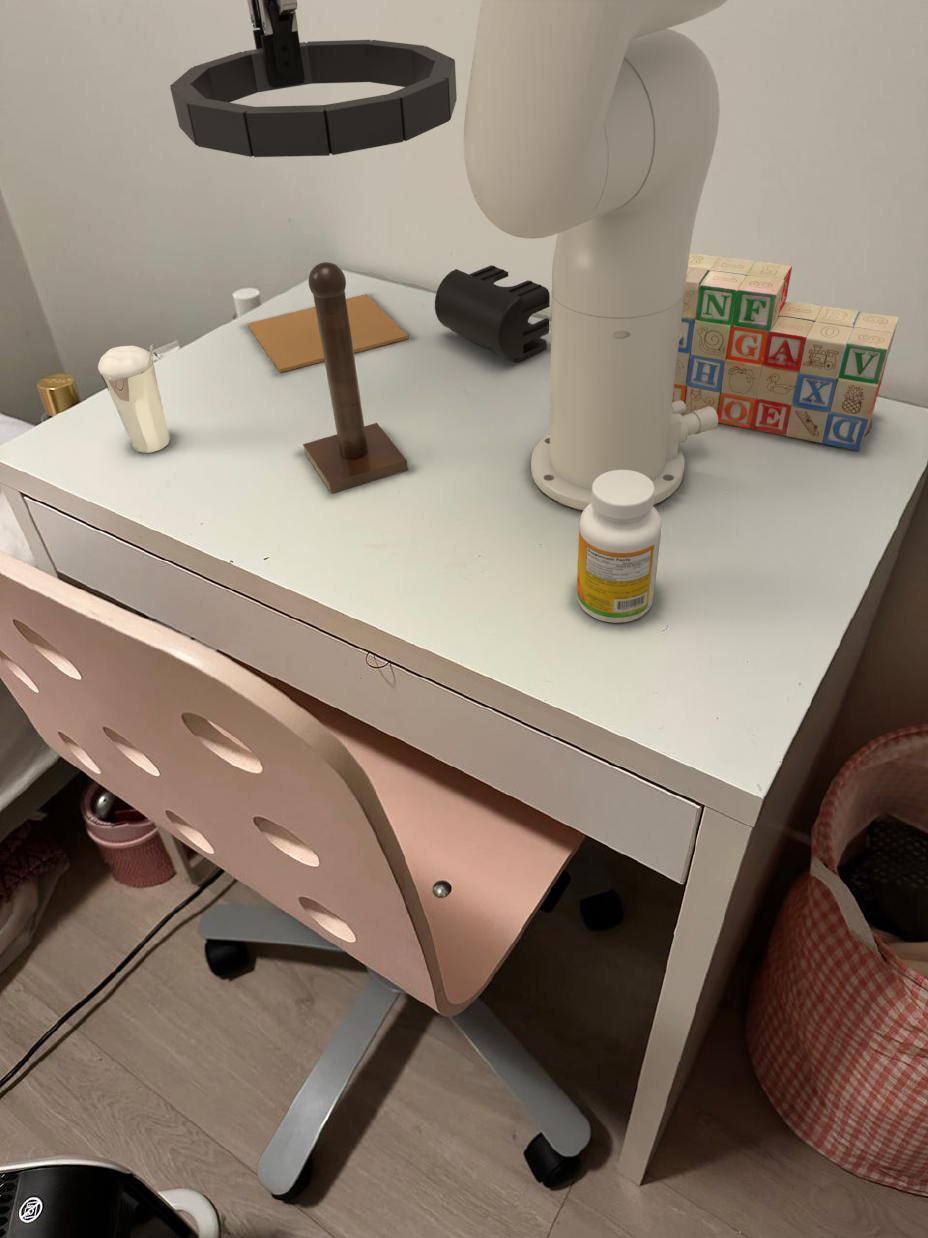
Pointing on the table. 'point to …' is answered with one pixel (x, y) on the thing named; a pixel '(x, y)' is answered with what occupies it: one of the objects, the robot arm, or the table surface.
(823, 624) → the table surface
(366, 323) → the desk pad
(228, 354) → the table surface
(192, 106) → the ring
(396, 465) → the headphone stand
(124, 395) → the milkshake
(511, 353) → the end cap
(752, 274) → the stack of blocks
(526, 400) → the table surface
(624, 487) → the supplement bottle
